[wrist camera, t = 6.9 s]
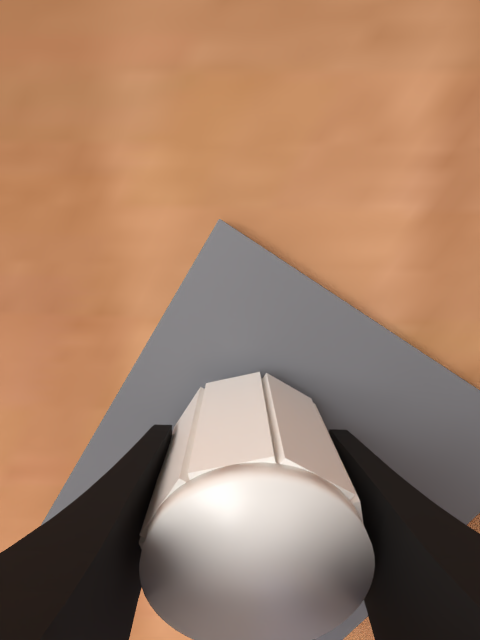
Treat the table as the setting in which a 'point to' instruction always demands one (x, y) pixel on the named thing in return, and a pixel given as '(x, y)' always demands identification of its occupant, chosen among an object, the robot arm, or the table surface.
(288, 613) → the cap
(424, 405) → the base plate
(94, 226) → the table surface
